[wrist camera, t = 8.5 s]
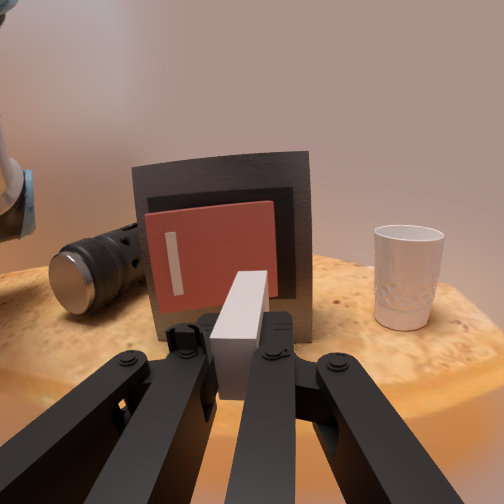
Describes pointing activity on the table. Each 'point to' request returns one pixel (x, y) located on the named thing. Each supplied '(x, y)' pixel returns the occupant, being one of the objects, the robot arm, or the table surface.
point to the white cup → (405, 274)
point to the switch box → (231, 192)
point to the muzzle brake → (97, 269)
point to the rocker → (209, 252)
